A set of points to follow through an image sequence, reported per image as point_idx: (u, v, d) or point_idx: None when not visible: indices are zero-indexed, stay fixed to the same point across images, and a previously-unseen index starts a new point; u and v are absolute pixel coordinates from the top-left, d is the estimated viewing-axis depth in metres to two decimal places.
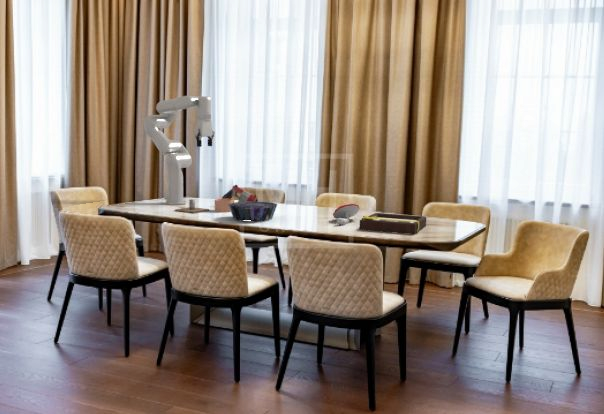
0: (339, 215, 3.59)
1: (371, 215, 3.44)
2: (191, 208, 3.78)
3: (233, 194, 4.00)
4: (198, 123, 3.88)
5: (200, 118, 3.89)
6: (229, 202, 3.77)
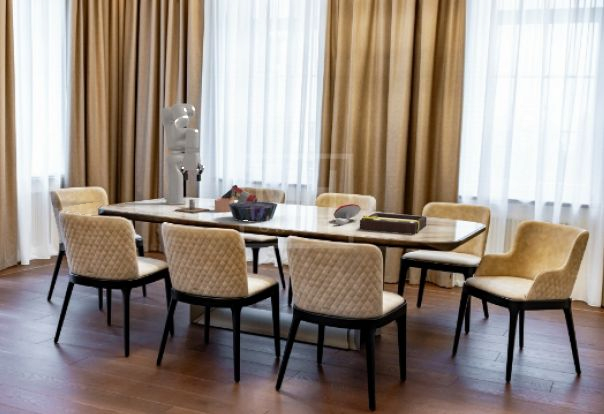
0: (340, 215, 3.59)
1: (371, 215, 3.45)
2: (191, 208, 3.78)
3: (232, 194, 4.01)
4: (197, 157, 3.72)
5: (197, 152, 3.73)
6: (229, 202, 3.77)
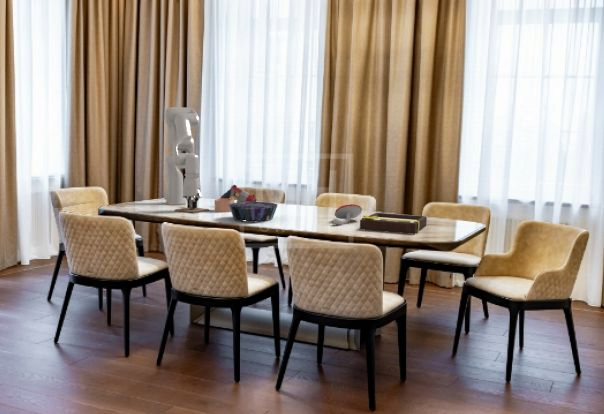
0: (341, 215, 3.59)
1: (371, 215, 3.45)
2: (191, 208, 3.78)
3: (232, 194, 4.01)
4: (197, 182, 3.74)
5: (197, 177, 3.75)
6: (229, 202, 3.77)
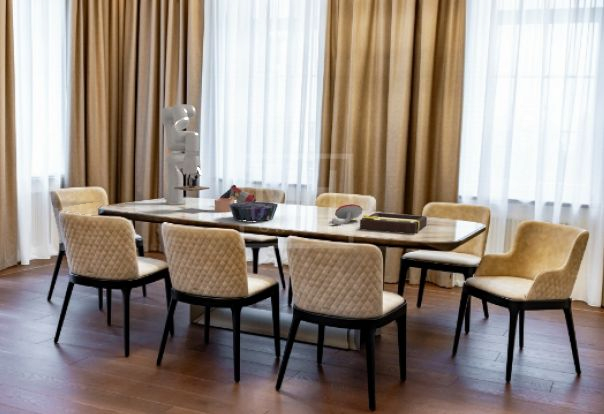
0: (342, 215, 3.58)
1: (372, 215, 3.46)
2: (191, 186, 3.76)
3: (231, 194, 4.01)
4: (197, 160, 3.72)
5: (196, 155, 3.73)
6: (229, 202, 3.77)
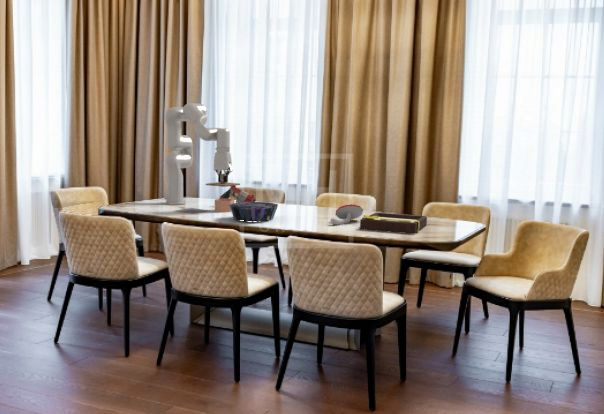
0: (343, 215, 3.58)
1: (372, 215, 3.46)
2: (222, 182, 3.78)
3: (231, 194, 4.01)
4: (228, 156, 3.74)
5: (228, 151, 3.75)
6: (229, 202, 3.77)
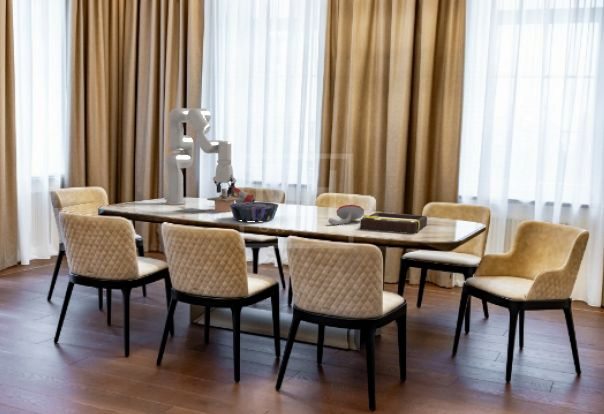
0: (344, 216, 3.58)
1: (372, 214, 3.46)
2: (223, 197, 3.79)
3: (230, 194, 4.01)
4: (230, 169, 3.75)
5: (229, 164, 3.76)
6: (229, 202, 3.77)
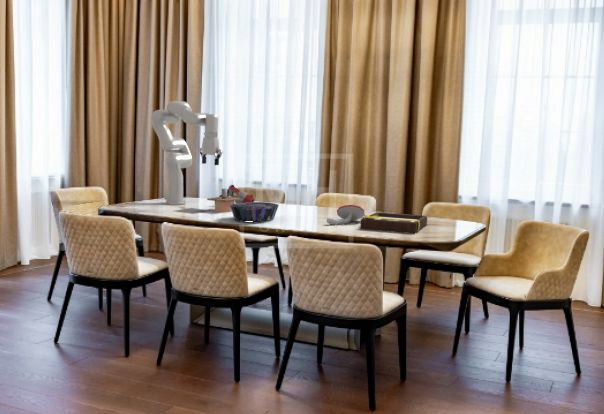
0: (345, 216, 3.57)
1: (372, 214, 3.47)
2: (223, 197, 3.79)
3: (229, 194, 4.01)
4: (216, 142, 3.84)
5: (215, 136, 3.85)
6: (229, 202, 3.77)
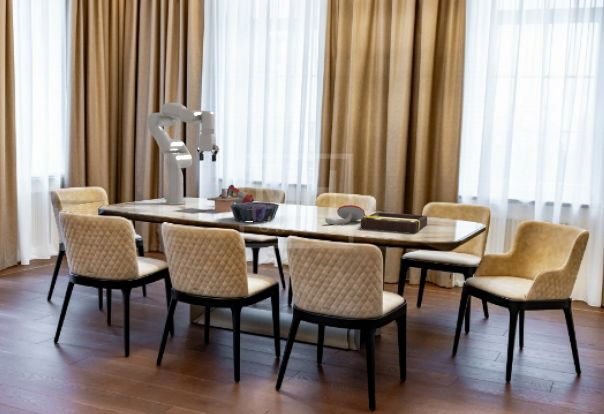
0: (345, 216, 3.57)
1: (372, 214, 3.47)
2: (223, 197, 3.79)
3: (229, 194, 4.01)
4: (213, 138, 3.86)
5: (212, 133, 3.87)
6: (229, 202, 3.77)
